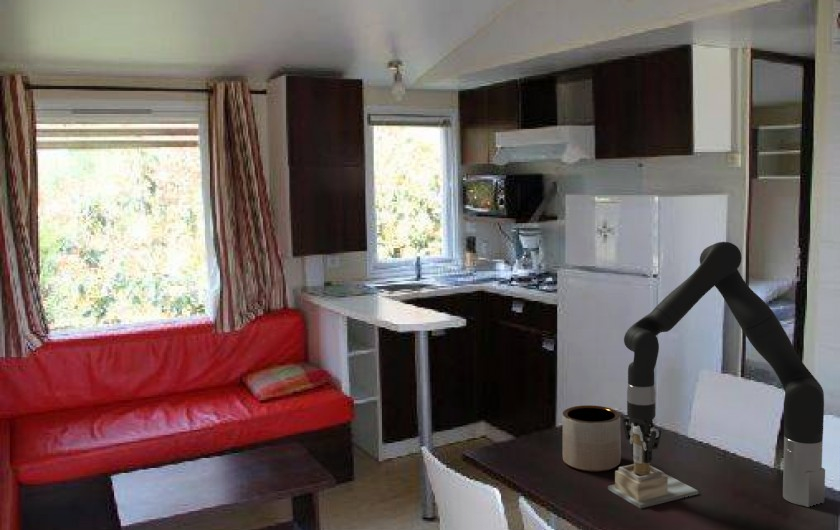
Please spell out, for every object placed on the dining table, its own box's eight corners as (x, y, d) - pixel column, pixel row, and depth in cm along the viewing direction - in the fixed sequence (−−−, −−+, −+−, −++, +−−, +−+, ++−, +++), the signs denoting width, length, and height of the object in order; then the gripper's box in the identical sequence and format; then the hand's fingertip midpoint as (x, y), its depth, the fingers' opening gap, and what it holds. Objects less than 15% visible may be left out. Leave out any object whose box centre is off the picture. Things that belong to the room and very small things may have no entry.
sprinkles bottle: (652, 474, 208) (652, 427, 206) (637, 476, 207) (636, 428, 206) (645, 468, 212) (645, 422, 211) (630, 469, 212) (630, 423, 210)
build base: (698, 494, 209) (698, 469, 209) (640, 508, 202) (640, 482, 201) (663, 476, 222) (663, 452, 221) (607, 489, 215) (607, 465, 214)
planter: (622, 474, 225) (622, 423, 223) (562, 471, 228) (561, 421, 226) (619, 452, 242) (619, 405, 240) (563, 450, 246) (562, 404, 244)
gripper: (670, 404, 202) (669, 465, 204) (635, 391, 215) (635, 449, 217) (647, 408, 199) (647, 470, 201) (613, 395, 212) (614, 453, 214)
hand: (641, 459), depth 209 cm, fingers closed on sprinkles bottle, 4 cm apart
